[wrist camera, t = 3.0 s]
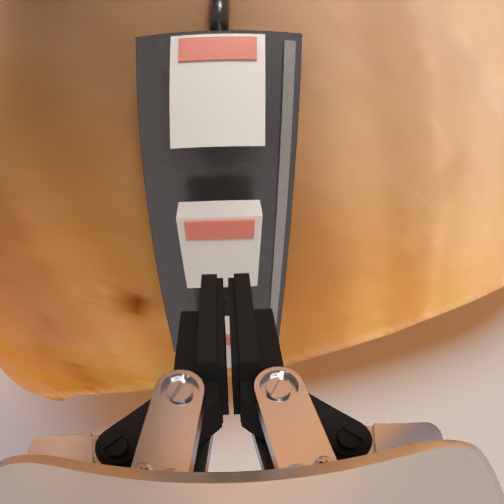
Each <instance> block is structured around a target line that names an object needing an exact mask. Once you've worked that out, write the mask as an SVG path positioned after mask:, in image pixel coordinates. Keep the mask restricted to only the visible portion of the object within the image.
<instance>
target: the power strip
mask: <svg viewBox="0 0 504 504" xmlns="http://www.w3.org/2000/svg"><path fill="white" fill-rule="evenodd" d="M198 34H265V146H223V147H194V148H175V149H170V43H171V36H182V35H198ZM301 49H302V34H298V33H287V32H272V31H243V30H229V0H210V25H209V31H196V32H181V33H169V34H159V35H151V36H143V37H136V76H137V99H138V115H139V129H140V141H141V152H142V163H143V172H144V181H145V189H146V197H147V205H148V212H149V220H150V226H151V233H152V240H153V246H154V252H155V258H156V264H157V269H158V275H159V280H160V286H161V291H162V296H163V301H164V306H165V311H166V316H167V320H168V325H169V330H170V334H171V338H172V343H173V347H174V351H176V347H177V338H178V330H179V322H180V315H181V311H199V302H200V289H201V288H187V283H186V278H185V272H184V266H183V260H182V254H181V248H180V241H179V235H178V228H177V222H176V215H177V209H178V203H179V202H195V201H226V200H260V204H261V209H262V215H263V217H262V231H261V244H260V257H259V270H258V283H257V286H251V292H252V300H253V308H254V309H270V308H272V310H273V314H274V319H275V325H276V330H277V335H278V340H279V333H280V324H281V315H282V306H283V297H284V287H285V277H286V267H287V257H288V246H289V235H290V224H291V212H292V200H293V187H294V174H295V160H296V145H297V130H298V113H299V94H300V73H301ZM223 288H224V309H225V316H229V295H228V287H223Z"/></svg>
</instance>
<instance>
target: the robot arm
mask: <svg viewBox="0 0 504 504" xmlns="http://www.w3.org/2000/svg"><path fill="white" fill-rule="evenodd" d="M228 295H229V322H230V346H231V368H232V387H233V405H234V414H240V417H241V423H242V426H243V427H244V428H245V429H247V430H248V431H249V432H251V433H252V437H253V440H254V444H255V448H256V451H257V455H258V458H259V462H260V465H261V469H262V470H259V471H244V472H208V467H209V461H210V454H211V448H212V441H213V434H214V433H215V432H217V430H219V429H220V428H221V427H222V423H223V415H228V414H229V407H228V384H227V356H226V329H225V309H224V288H223V278H217V274H202V276H201V289H200V302H199V311H181V315H180V322H179V330H178V338H177V347H176V356H175V365H174V371H170V372H168V373H166V374H164V375H163V376H162V377H161V378H160V379H159V380H158V382H157V384H156V386H155V389H154V392H153V395H152V398H151V399H150V400H149V401H147V402H146V403H145V404H143V405H142V406H140V407H139V408H138V409H136V410H135V411H133V412H132V413H130V414H129V415H128V416H126V417H125V418H123V419H122V420H120V421H119V422H117V423H116V424H114V425H113V426H111V427H110V428H108V429H107V430H106V431H104V432H103V433H102V434H101V435H99V436H93V435H92V434H78V435H55V436H40V437H37V438H35V439H34V440H32V442H31V443H30V445H29V448H28V454H27V455H18V456H12V457H9V458H6V459H3V460H1V461H0V504H504V494H503V491H502V489H501V486H500V484H499V481H498V479H497V476H496V474H495V472H494V470H493V468H492V467H491V465H490V463H489V461H488V460H487V458H486V456H485V455H484V454H483V453H482V451H481V450H480V449H479V448H477V447H476V446H474V445H473V444H470V443H467V442H463V441H457V440H443V438H442V434H441V432H440V430H439V429H438V428H437V427H436V426H435V425H433V424H431V423H427V422H419V423H395V424H394V423H393V424H374V425H373V426H365V425H363V424H362V423H361V422H359V421H357V420H355V419H353V418H351V417H349V416H348V415H346V414H344V413H342V412H340V411H339V410H337V409H335V408H333V407H331V406H330V405H328V404H326V403H324V402H323V401H321V400H319V399H318V398H316V397H314V396H312V395H310V394H309V393H308V391H307V389H306V387H305V384H304V382H303V380H302V378H301V377H300V375H299V374H297V373H296V372H295V371H293V370H291V369H289V368H286V367H284V366H283V361H282V356H281V351H280V345H279V340H278V335H277V330H276V325H275V319H274V314H273V310H272V308H270V309H254V308H253V300H252V292H251V284H250V276H249V273H234V278H228Z"/></svg>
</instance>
